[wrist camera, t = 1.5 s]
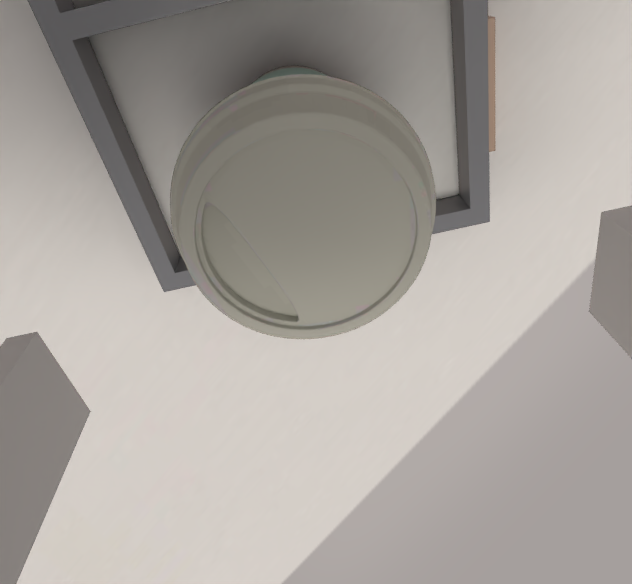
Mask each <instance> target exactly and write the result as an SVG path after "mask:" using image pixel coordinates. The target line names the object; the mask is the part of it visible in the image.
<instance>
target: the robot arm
mask: <svg viewBox="0 0 632 584" xmlns="http://www.w3.org/2000/svg"><path fill="white" fill-rule="evenodd" d="M589 312H590V313H591V314H592V315H593V316H594V318H595V319H596V320H597V321H598V322H599V323H600V324H601V325H602V326H603V327H604V329H605V330H606V331H607V332H608V333H609V334H610V335H611V336H612V338H614V339H615V341H616V342H617V343H618V344H619V345H620V346H621V347H622V348H623V350H624V351H625V352H626V353H627V354H628V355H629V356H630V357H631V358H632V206H628V207H623V208H618V209H614V210H609V211H604V212H601V220H600V228H599V236H598V244H597V252H596V260H595V268H594V276H593V284H592V292H591V300H590V308H589ZM89 414H90V410H89V408H88V407H87V405H86V404H85V402H84V401H83V399H82V398H81V396H80V395H79V393H78V392H77V390H76V389H75V387H74V386H73V385H72V383H71V382H70V380H69V379H68V377H67V376H66V374H65V373H64V371H63V370H62V368H61V367H60V365H59V364H58V362H57V361H56V359H55V358H54V356H53V355H52V353H51V352H50V350H49V349H48V347H47V346H46V344H45V343H44V341H43V340H42V338H41V337H40V335H39V334H38V332H34V333H29V334H24V335H20V336H15V337H10V338H6V340H5V341H4V342H3V344H2V345H1V346H0V584H16V583H17V581H18V578H19V576H20V574H21V571H22V569H23V567H24V564H25V562H26V560H27V557H28V555H29V553H30V550H31V548H32V546H33V543H34V541H35V539H36V536H37V534H38V532H39V530H40V527H41V525H42V523H43V520H44V518H45V516H46V513H47V511H48V509H49V506H50V504H51V502H52V499H53V497H54V495H55V492H56V490H57V488H58V485H59V483H60V481H61V478H62V476H63V474H64V472H65V469H66V467H67V465H68V462H69V460H70V458H71V455H72V453H73V451H74V448H75V446H76V444H77V441H78V439H79V437H80V434H81V432H82V430H83V427H84V425H85V423H86V420H87V418H88V416H89Z"/></svg>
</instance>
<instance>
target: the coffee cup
mask: <svg viewBox="0 0 632 584" xmlns="http://www.w3.org/2000/svg"><path fill="white" fill-rule="evenodd" d="M170 209H171V223H172V228H173V233H174V238H175V241H176V244H177V247H178V249H179V252H180V254H181V256H182V258H183V260H184V262H185V264H186V266H187V269H188V271H189V273H190V275H191V277H192V279H193V281H194V282H195V284H196V285H197V287H198V288H199V289H200V291H201V292H202V294H203V295H204V296H205V297H206V298H207V299H208V300H209V301H210V302H211V303H212V304H213V305H214V306H215V307H216V308H217V309H218V310H219V311H221V312H222V313H223V314H225V315H226V316H228V317H229V318H230V319H232V320H234V321H236V322H237V323H239V324H241V325H243V326H245V327H247V328H250V329H252V330H255V331H257V332H260V333H264V334H267V335H271V336H276V337H282V338H290V339H315V338H324V337H329V336H335V335H338V334H342V333H345V332H348V331H351V330H354V329H356V328H359V327H361V326H363V325H365V324H367V323H369V322H371V321H372V320H374V319H376V318H377V317H379V316H380V315H382V314H383V313H384V312H386V311H387V310H388V309H390V308H391V307H392V306H393V305H394V304H395V303H396V302H398V301H399V299H400V298H401V297H402V296H403V295H404V294H405V293H406V292H407V290H408V289H409V288H410V286H411V285H412V284H413V282H414V281H415V279H416V277H417V276H418V274H419V272H420V270H421V268H422V266H423V263H424V261H425V259H426V256H427V252H428V249H429V245H430V240H431V235H432V231H433V227H434V222H435V213H436V194H435V185H434V180H433V175H432V170H431V166H430V163H429V159H428V156H427V154H426V151H425V149H424V147H423V145H422V143H421V141H420V139H419V137H418V135H417V134H416V132H415V131H414V129H413V128H412V127H411V125H410V124H409V123H408V121H407V120H406V119H405V118H404V117H403V116H402V115H401V114H400V113H399V112H398V111H397V110H396V109H395V108H394V107H393V106H392V105H391V104H389V103H388V102H387V101H385V100H384V99H383V98H381V97H380V96H378V95H377V94H375V93H373V92H372V91H370V90H368V89H366V88H364V87H362V86H359V85H357V84H355V83H352V82H349V81H346V80H343V79H339V78H335V77H330V76H327V75H325V74H323V73H321V72H320V71H317V70H315V69H312V68H309V67H304V66H285V67H280V68H277V69H274V70H271V71H269V72H267V73H265V74H264V75H262V76H261V77H259V78H258V79H257V80H256V81H255V82H254V83H252V84H251V85H249V86H246V87H244V88H242V89H240V90H238V91H236V92H235V93H233V94H231V95H230V96H228V97H227V98H225V99H224V100H222V101H221V102H220V103H218V104H217V105H216V106H215V107H213V108H212V109H211V110H210V111H209V112H208V113H207V114H206V115H205V116H204V117H203V118H202V119H201V120H200V121H199V123H198V124H197V125H196V126H195V128H194V129H193V130H192V132H191V133H190V135H189V136H188V138H187V140H186V141H185V143H184V145H183V147H182V149H181V151H180V154H179V156H178V159H177V162H176V165H175V168H174V172H173V177H172V183H171V193H170Z"/></svg>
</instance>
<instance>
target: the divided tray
mask: <svg viewBox="0 0 632 584" xmlns="http://www.w3.org/2000/svg"><path fill="white" fill-rule="evenodd" d="M227 1H231V0H109V1H105V2H101V3H97V4H93V5H90V6H86V7H82V8H78V9H75V7H74V5H73V2H72V0H28V2H29V4H30V6H31V9H32V11H33V13H34V15H35V17H36V19H37V21H38V24H39V26H40V28H41V30H42V32H43V34H44V36H45V38H46V41H47V43H48V45H49V47H50V49H51V51H52V53H53V56H54V58H55V60H56V62H57V64H58V66H59V68H60V71H61V73H62V75H63V77H64V79H65V81H66V83H67V86H68V88H69V90H70V92H71V94H72V96H73V98H74V101H75V103H76V105H77V107H78V109H79V111H80V113H81V116H82V118H83V120H84V122H85V124H86V126H87V128H88V130H89V133H90V135H91V137H92V139H93V141H94V143H95V145H96V148H97V150H98V152H99V154H100V156H101V158H102V160H103V163H104V165H105V167H106V169H107V171H108V173H109V175H110V178H111V180H112V182H113V184H114V186H115V188H116V190H117V193H118V195H119V197H120V199H121V201H122V203H123V205H124V207H125V210H126V212H127V214H128V216H129V218H130V220H131V222H132V225H133V227H134V229H135V231H136V233H137V235H138V237H139V240H140V242H141V244H142V246H143V248H144V250H145V252H146V255H147V257H148V259H149V261H150V263H151V265H152V267H153V270H154V272H155V274H156V276H157V278H158V280H159V282H160V285H161V287H162V289H163V291H164V292H166V291H171V290H176V289H180V288H185V287H189V286H194V285H196V284H195V282H194V281H193V279H192V277H191V275H190V273H189V271H188V269H187V266H186V264H185V262H184V260H183V258H182V256H181V257H180V255H179V253H178V250H177V248H176V246H175V243H174V241H173V238H172V236H171V234H170V231H169V229H168V227H167V224H166V222H165V220H164V217H163V215H162V212H161V210H160V208H159V205H158V203H157V201H156V198H155V196H154V194H153V191H152V189H151V187H150V184H149V182H148V179H147V177H146V175H145V172H144V170H143V168H142V165H141V163H140V161H139V158H138V156H137V153H136V151H135V149H134V146H133V144H132V142H131V139H130V137H129V135H128V132H127V130H126V127H125V125H124V123H123V120H122V118H121V116H120V113H119V111H118V109H117V106H116V104H115V102H114V99H113V97H112V94H111V92H110V90H109V87H108V85H107V83H106V80H105V78H104V76H103V73H102V71H101V68H100V66H99V64H98V61H97V59H96V57H95V54H94V52H93V50H92V47H91V45H90V43H89V40H88V38H87V37H88V36H92V35H96V34H100V33H104V32H108V31H112V30H116V29H120V28H124V27H128V26H132V25H136V24H140V23H144V22H148V21H152V20H156V19H160V18H164V17H168V16H172V15H176V14H180V13H184V12H188V11H192V10H196V9H200V8H204V7H208V6H211V5H215V4H219V3H223V2H227ZM451 20H452V41H453V63H454V85H455V107H456V128H457V150H458V172H459V193H460V195H458V196H454V197H449V198H445V199H440V200H436V213H435V222H434V227H433V231H432V234H435V233H440V232H444V231H449V230H454V229H458V228H463V227H467V226H472V225H477V224H481V223H486V222H490V203H489V152H491V151H495V17H492V16H488V0H451Z"/></svg>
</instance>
